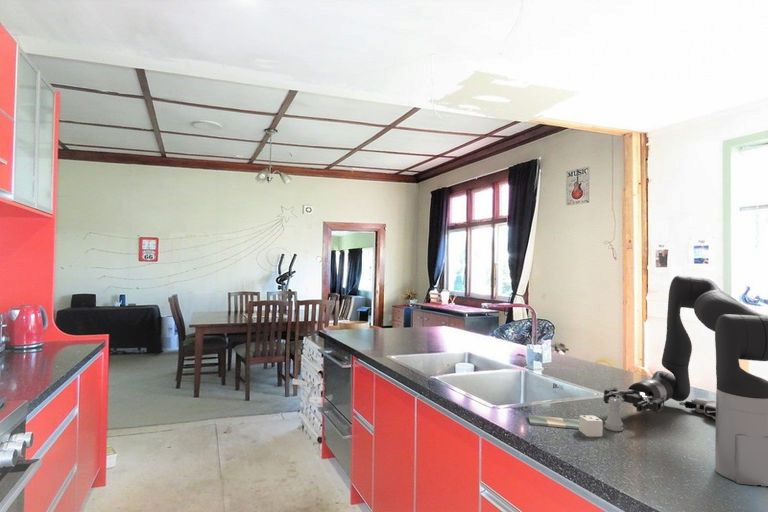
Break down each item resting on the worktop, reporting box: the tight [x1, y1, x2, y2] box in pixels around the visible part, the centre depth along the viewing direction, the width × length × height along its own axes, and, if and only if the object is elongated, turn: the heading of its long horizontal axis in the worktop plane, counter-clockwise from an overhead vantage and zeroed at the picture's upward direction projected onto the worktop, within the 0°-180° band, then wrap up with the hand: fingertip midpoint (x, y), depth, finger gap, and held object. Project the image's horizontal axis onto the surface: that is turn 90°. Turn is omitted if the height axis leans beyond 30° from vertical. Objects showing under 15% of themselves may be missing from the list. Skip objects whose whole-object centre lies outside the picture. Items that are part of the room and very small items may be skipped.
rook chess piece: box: [604, 397, 624, 432], centre depth 122 cm, size 4×4×8 cm
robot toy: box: [679, 397, 716, 421], centre depth 135 cm, size 12×4×15 cm
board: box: [527, 414, 604, 432], centre depth 125 cm, size 6×18×1 cm, turn 79°
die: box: [578, 414, 604, 438], centre depth 118 cm, size 4×4×4 cm
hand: (621, 403), depth 125 cm, fingers open, 8 cm apart
